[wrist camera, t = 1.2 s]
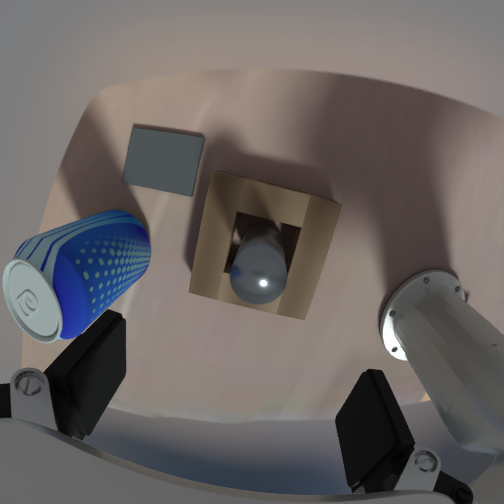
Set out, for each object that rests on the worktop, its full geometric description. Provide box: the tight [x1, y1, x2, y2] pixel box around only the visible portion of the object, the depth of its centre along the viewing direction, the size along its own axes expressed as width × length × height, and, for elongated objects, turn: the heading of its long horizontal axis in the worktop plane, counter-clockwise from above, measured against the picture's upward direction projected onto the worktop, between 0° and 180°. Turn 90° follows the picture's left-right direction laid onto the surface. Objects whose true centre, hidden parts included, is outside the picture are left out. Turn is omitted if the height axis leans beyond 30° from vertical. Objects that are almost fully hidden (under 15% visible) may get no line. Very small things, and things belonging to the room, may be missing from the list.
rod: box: [230, 223, 287, 305], centre depth 25 cm, size 4×4×10 cm
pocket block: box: [189, 171, 342, 320], centre depth 28 cm, size 12×12×3 cm
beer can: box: [3, 210, 151, 343], centre depth 23 cm, size 8×8×16 cm
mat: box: [122, 128, 205, 197], centre depth 27 cm, size 8×6×1 cm
